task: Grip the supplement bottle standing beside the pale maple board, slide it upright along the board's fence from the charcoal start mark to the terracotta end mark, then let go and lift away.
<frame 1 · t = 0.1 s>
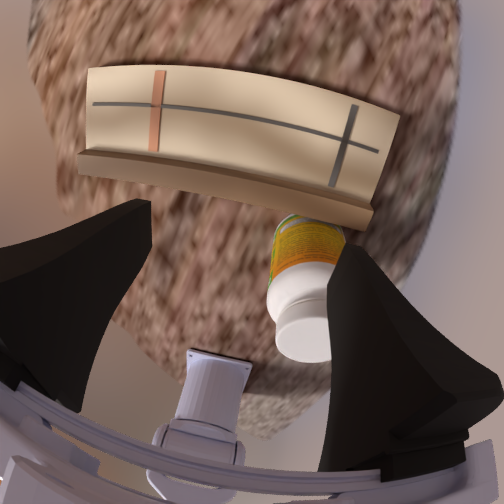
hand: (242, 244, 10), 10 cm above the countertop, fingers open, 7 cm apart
supplement bottle: (308, 237, 21), on the countertop
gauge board: (225, 127, 17), on the countertop
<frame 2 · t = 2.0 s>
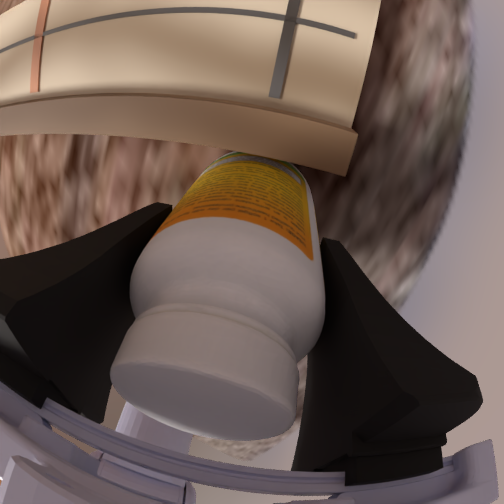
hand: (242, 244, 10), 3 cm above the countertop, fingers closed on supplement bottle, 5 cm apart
supplement bottle: (254, 201, 13), on the countertop, touching gripper
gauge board: (117, 43, 9), on the countertop
when the fingers open (3 cm above the countertop, at t = 2.7 s): supplement bottle moves 6 cm, on the countertop.
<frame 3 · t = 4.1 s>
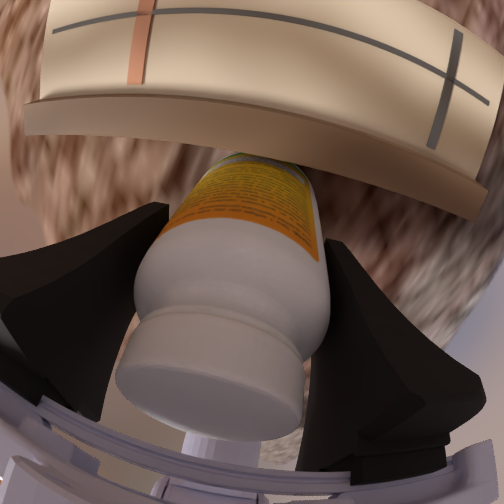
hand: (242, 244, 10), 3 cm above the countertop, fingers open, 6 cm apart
supplement bottle: (257, 201, 13), on the countertop, touching gripper
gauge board: (258, 46, 9), on the countertop
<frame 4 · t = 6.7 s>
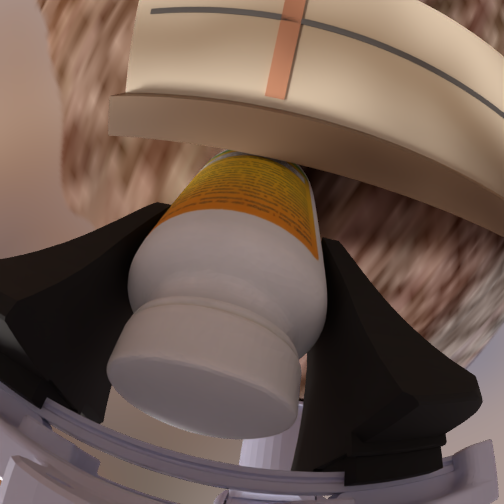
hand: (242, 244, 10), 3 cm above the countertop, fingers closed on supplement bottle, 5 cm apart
supplement bottle: (254, 197, 13), on the countertop, touching gripper
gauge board: (392, 83, 9), on the countertop
when the fingers open (3 cm above the countertop, at t = 6.7 s): supplement bottle stays where it is, on the countertop.
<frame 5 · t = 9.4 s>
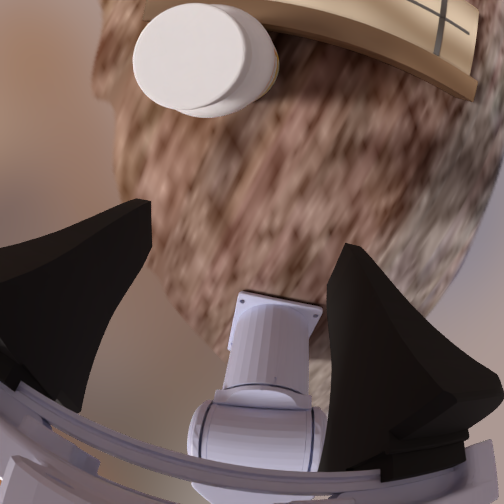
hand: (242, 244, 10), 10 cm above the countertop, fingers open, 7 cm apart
supplement bottle: (237, 65, 15), on the countertop
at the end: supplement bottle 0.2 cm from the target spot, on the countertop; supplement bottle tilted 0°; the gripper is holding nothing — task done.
